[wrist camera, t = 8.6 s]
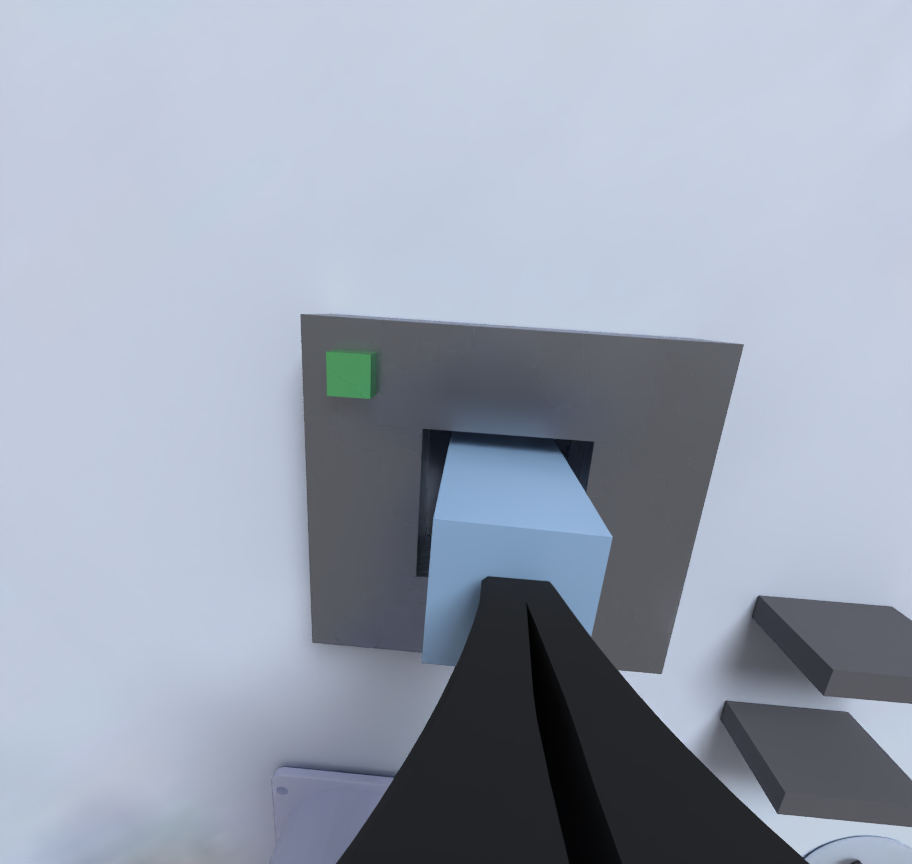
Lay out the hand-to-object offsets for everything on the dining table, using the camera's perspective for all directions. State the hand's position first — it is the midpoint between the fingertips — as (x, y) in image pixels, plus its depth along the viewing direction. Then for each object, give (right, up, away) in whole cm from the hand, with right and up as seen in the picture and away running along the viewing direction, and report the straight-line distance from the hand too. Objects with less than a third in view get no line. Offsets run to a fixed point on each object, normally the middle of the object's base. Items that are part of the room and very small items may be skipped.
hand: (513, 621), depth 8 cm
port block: (0, +2, +7) cm, 7 cm away
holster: (+13, -6, +9) cm, 16 cm away
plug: (0, +2, +7) cm, 7 cm away
